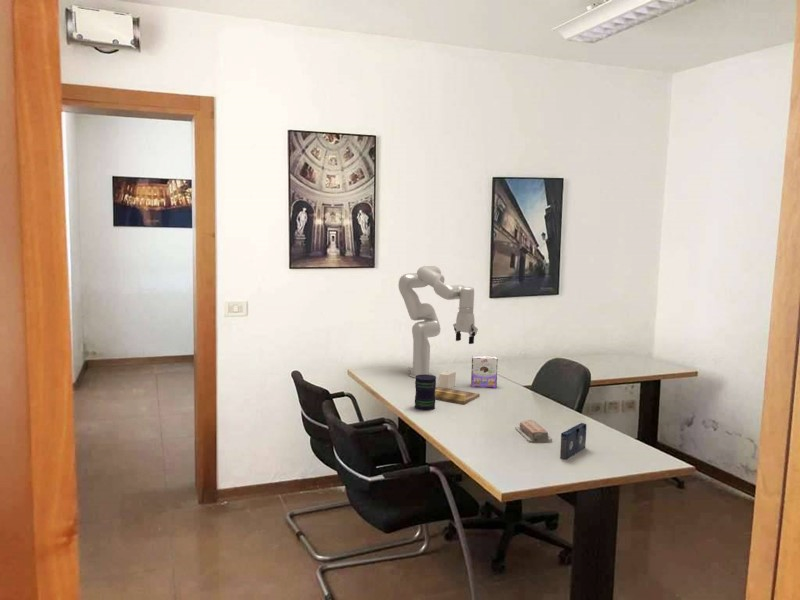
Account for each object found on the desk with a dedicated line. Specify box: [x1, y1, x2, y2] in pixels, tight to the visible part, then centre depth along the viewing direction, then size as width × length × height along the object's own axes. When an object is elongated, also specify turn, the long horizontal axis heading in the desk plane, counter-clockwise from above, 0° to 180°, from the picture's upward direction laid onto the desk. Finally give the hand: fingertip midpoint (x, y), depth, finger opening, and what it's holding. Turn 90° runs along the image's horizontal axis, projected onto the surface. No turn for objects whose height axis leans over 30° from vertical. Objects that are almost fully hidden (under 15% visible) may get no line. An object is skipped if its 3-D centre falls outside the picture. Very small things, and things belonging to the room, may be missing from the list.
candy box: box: [470, 355, 498, 389], centre depth 351 cm, size 14×6×16 cm, turn 84°
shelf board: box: [435, 386, 481, 405], centre depth 329 cm, size 24×18×4 cm
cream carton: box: [438, 370, 457, 389], centre depth 347 cm, size 5×9×8 cm, turn 149°
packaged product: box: [515, 419, 553, 443], centre depth 271 cm, size 18×5×10 cm
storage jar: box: [414, 374, 437, 412], centre depth 307 cm, size 10×10×15 cm
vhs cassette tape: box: [559, 422, 588, 461], centre depth 250 cm, size 18×3×10 cm, turn 140°
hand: (464, 342), depth 345 cm, fingers open, 9 cm apart
